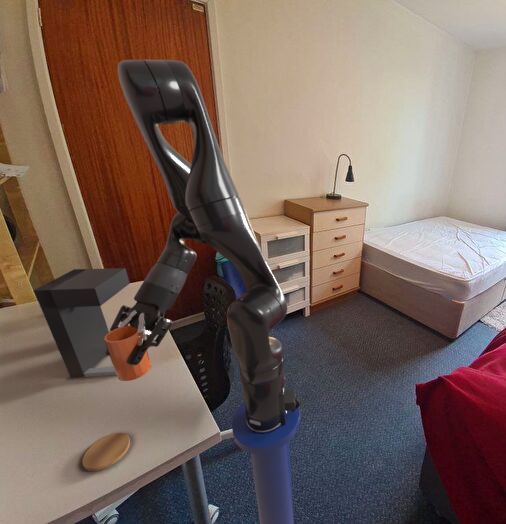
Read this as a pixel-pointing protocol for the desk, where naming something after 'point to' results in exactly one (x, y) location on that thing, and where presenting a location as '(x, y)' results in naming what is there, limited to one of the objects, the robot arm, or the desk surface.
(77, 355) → the coffee maker
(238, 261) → the robot arm
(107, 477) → the desk surface
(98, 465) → the coaster
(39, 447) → the desk surface
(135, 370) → the cup
